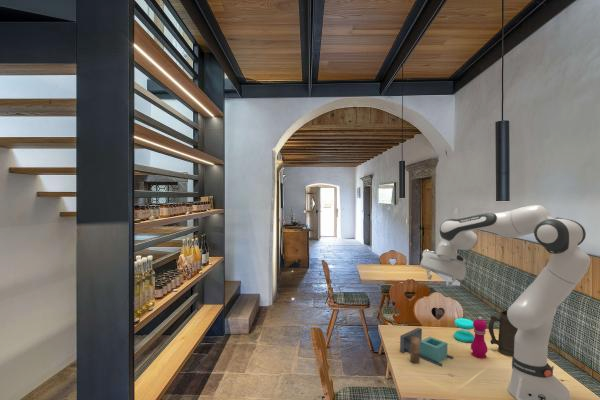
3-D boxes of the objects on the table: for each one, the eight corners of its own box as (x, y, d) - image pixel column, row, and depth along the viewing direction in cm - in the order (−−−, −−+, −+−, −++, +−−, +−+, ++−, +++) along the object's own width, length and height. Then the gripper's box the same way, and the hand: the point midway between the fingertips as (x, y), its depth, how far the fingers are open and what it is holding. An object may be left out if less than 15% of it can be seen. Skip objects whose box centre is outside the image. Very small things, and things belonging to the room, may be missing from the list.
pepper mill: (489, 361, 166) (490, 320, 165) (472, 360, 168) (474, 318, 167) (484, 354, 173) (485, 314, 172) (468, 353, 175) (470, 313, 174)
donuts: (451, 317, 196) (469, 317, 195) (451, 334, 196) (469, 335, 196) (459, 324, 186) (478, 324, 185) (458, 342, 186) (477, 343, 186)
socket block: (446, 357, 168) (447, 343, 167) (437, 363, 162) (437, 348, 162) (429, 350, 174) (429, 336, 174) (419, 356, 169) (419, 341, 168)
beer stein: (517, 348, 181) (516, 309, 180) (529, 358, 170) (527, 317, 169) (486, 348, 182) (484, 310, 182) (495, 358, 172) (494, 317, 171)
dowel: (421, 364, 163) (421, 338, 163) (416, 366, 161) (417, 341, 160) (413, 360, 166) (414, 335, 166) (408, 363, 164) (409, 338, 163)
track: (455, 359, 168) (456, 340, 168) (438, 370, 158) (439, 350, 157) (417, 344, 183) (418, 327, 183) (399, 353, 173) (400, 335, 173)
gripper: (425, 246, 169) (418, 273, 164) (469, 260, 164) (464, 288, 159) (422, 250, 175) (415, 276, 170) (464, 263, 170) (459, 291, 165)
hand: (439, 282), depth 165 cm, fingers open, 8 cm apart
